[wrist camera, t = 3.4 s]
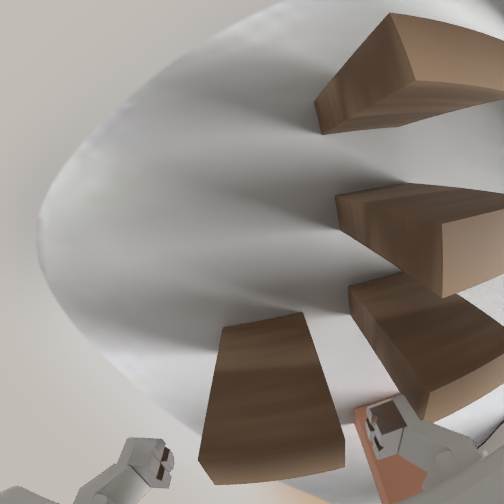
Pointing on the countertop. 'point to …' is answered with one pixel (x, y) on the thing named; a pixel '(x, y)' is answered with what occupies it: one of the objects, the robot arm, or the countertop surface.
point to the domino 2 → (412, 75)
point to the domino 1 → (269, 406)
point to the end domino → (389, 466)
